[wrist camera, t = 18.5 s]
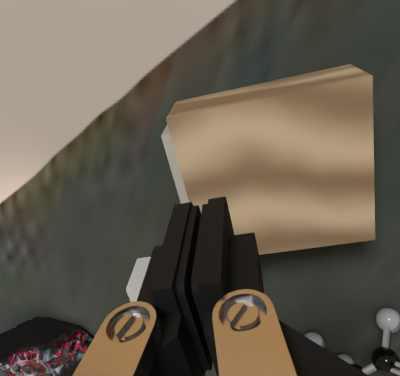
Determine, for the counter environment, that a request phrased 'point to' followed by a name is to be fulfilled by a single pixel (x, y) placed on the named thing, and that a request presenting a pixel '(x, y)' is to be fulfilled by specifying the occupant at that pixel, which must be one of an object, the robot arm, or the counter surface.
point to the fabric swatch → (42, 347)
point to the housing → (284, 157)
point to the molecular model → (382, 356)
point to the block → (137, 278)
